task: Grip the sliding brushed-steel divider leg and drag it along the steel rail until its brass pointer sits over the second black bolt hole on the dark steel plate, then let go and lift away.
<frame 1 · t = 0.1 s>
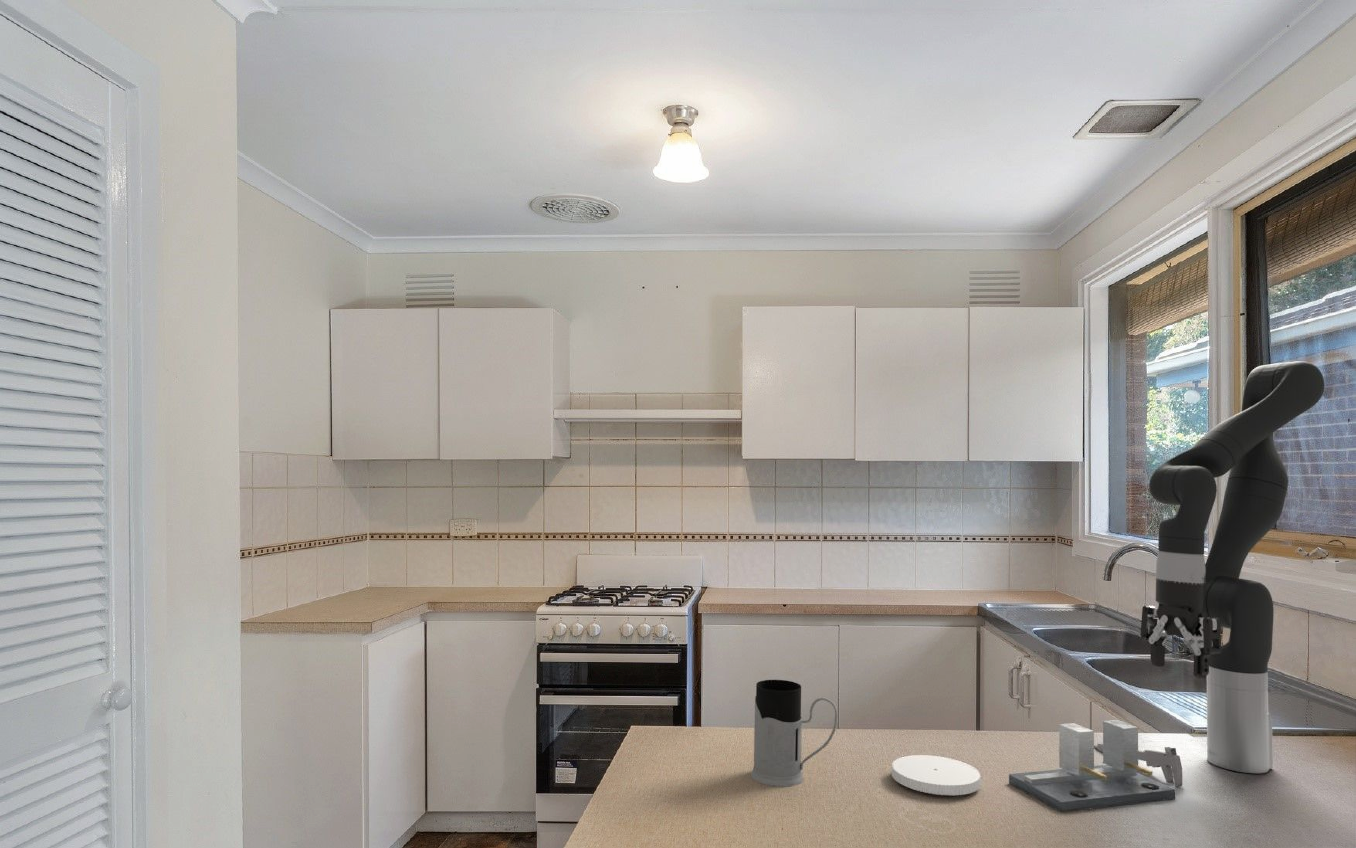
hand: (1178, 671, 148), 17 cm above the countertop, tool pointing down, fingers open, 8 cm apart
glass holder: (793, 780, 139), on the countertop
plastic lid: (935, 786, 139), on the countertop
fixed leg: (1120, 766, 141), resting on hole plate
caliper: (1134, 768, 149), on the countertop
divider leg: (1085, 753, 137), point 6 cm above the countertop, slide at -5.0 cm
hole plate: (1090, 791, 137), on the countertop
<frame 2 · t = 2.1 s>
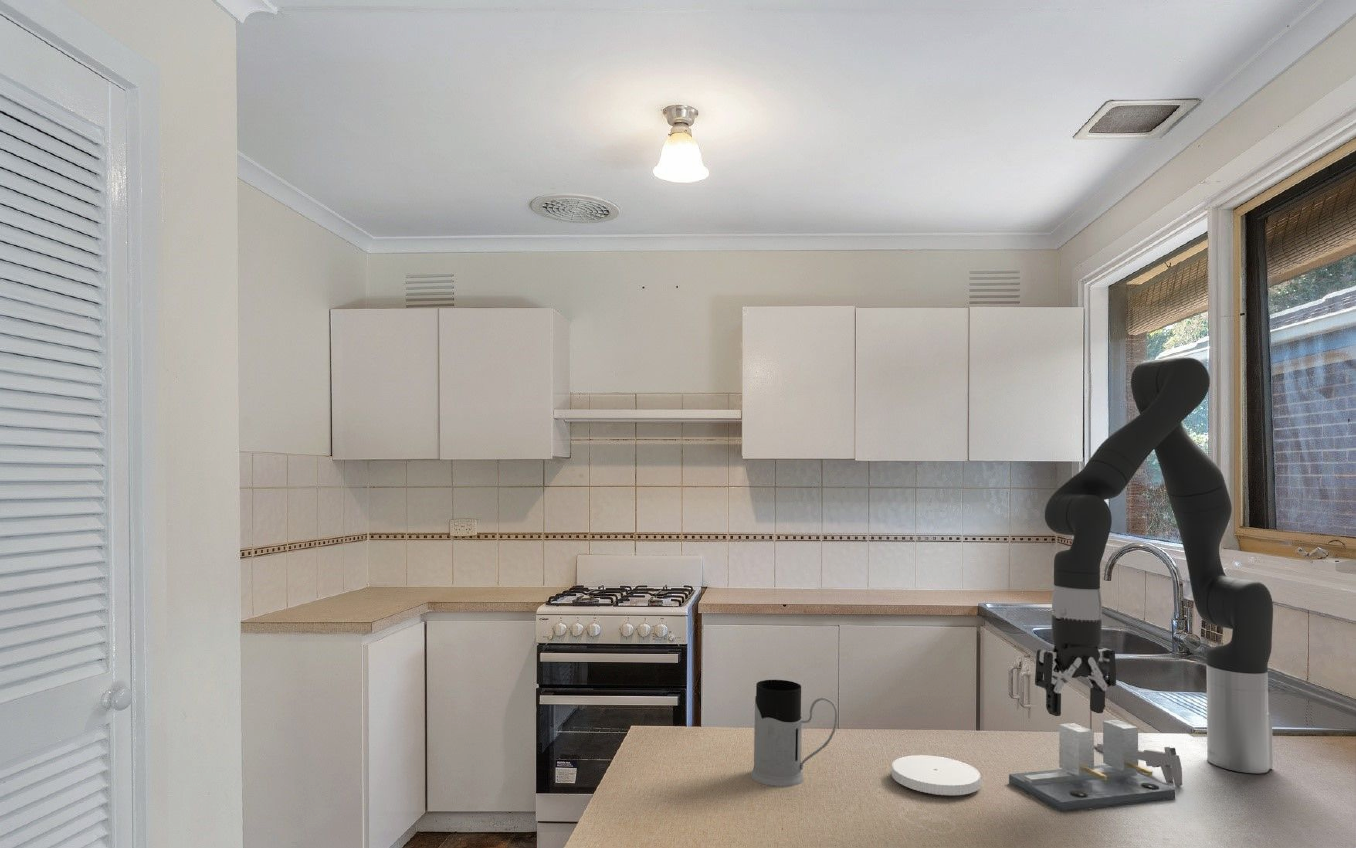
hand: (1075, 713, 139), 12 cm above the countertop, tool pointing down, fingers open, 8 cm apart
nothing on the countertop moved.
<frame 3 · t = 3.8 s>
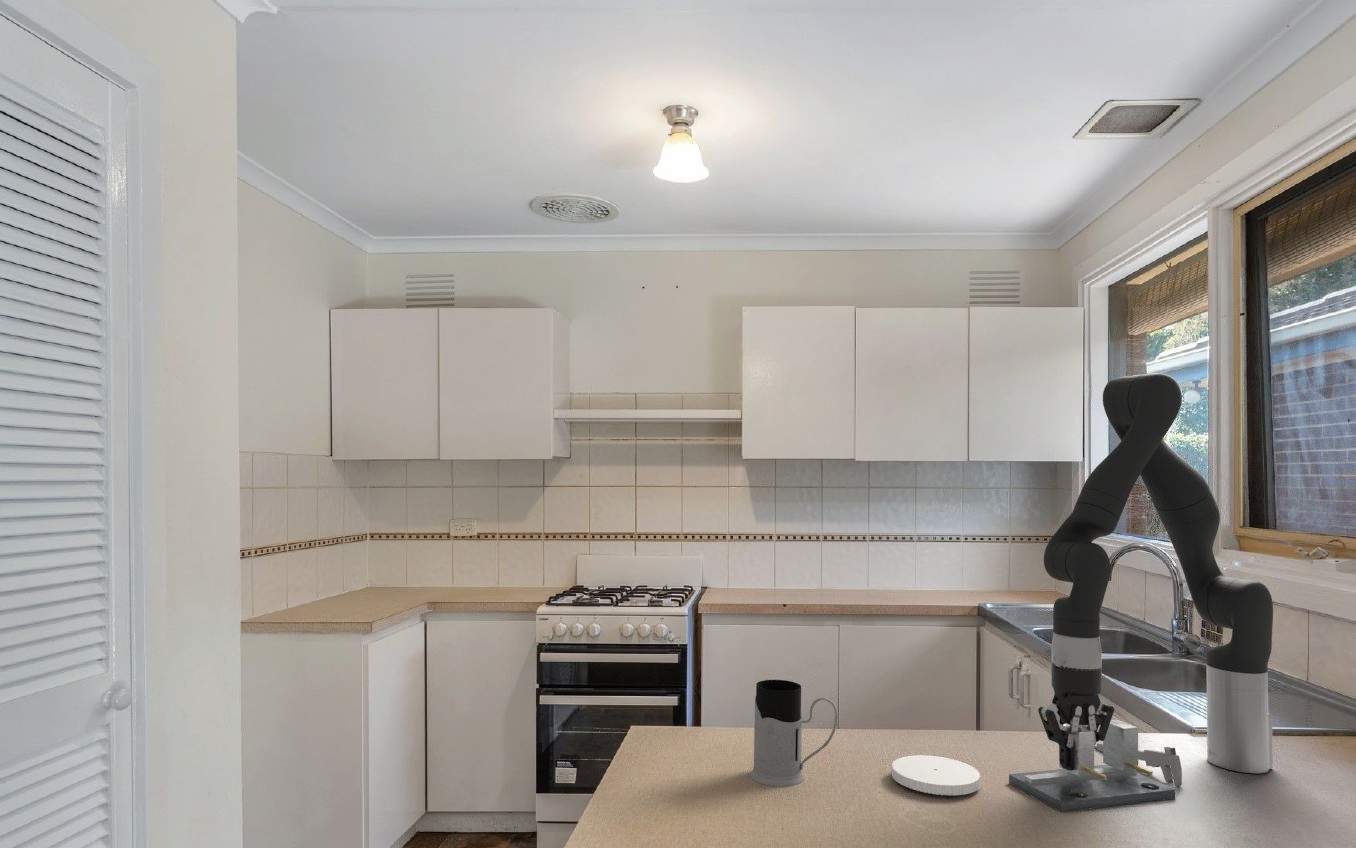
hand: (1076, 767, 139), 3 cm above the countertop, tool pointing down, fingers closed on divider leg, 3 cm apart
divider leg: (1085, 753, 137), point 6 cm above the countertop, slide at -5.0 cm, touching gripper
everything else where it was.
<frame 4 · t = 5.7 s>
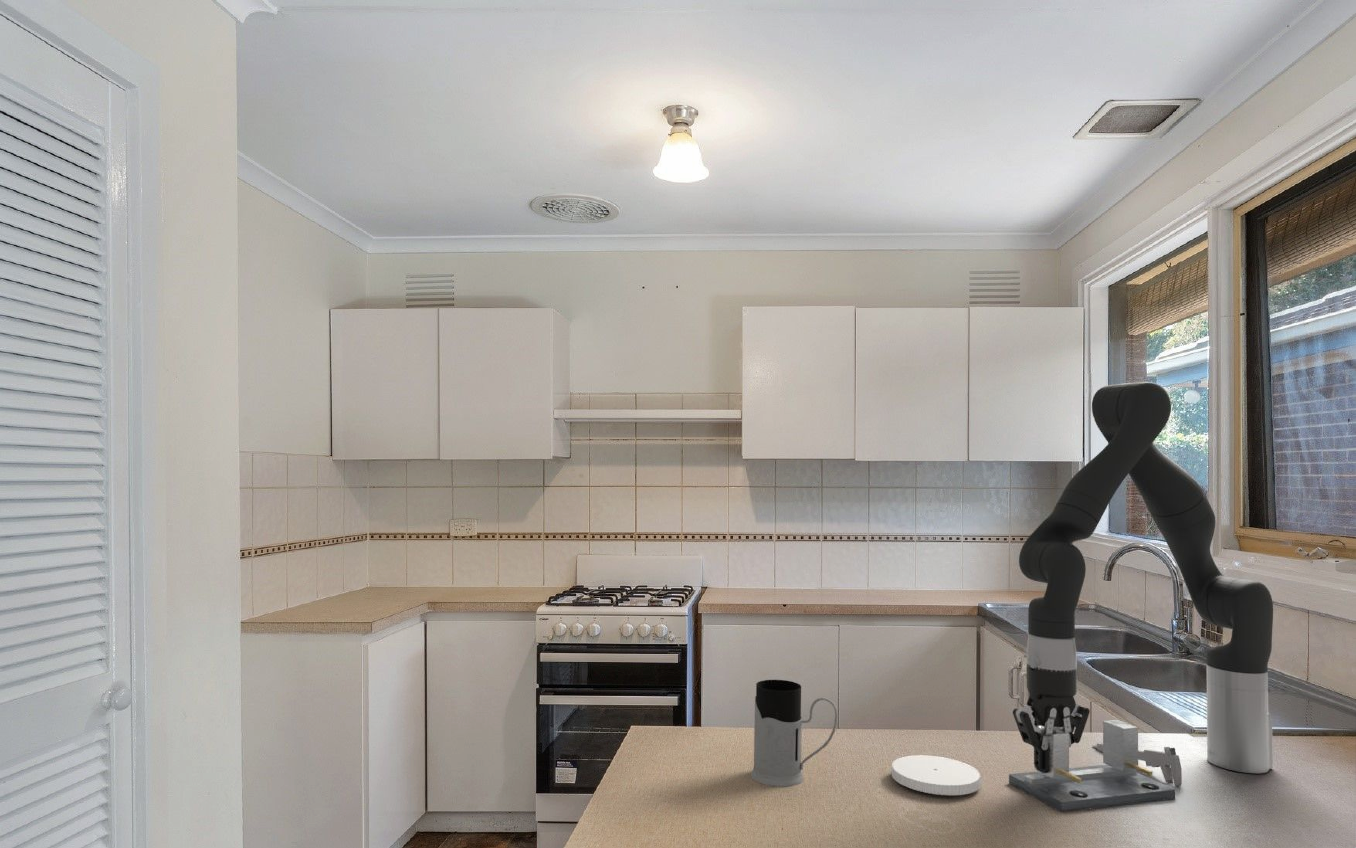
hand: (1051, 770, 137), 3 cm above the countertop, tool pointing down, fingers closed on divider leg, 3 cm apart
divider leg: (1060, 755, 136), point 6 cm above the countertop, slide at -0.1 cm, touching gripper
everything else where it was.
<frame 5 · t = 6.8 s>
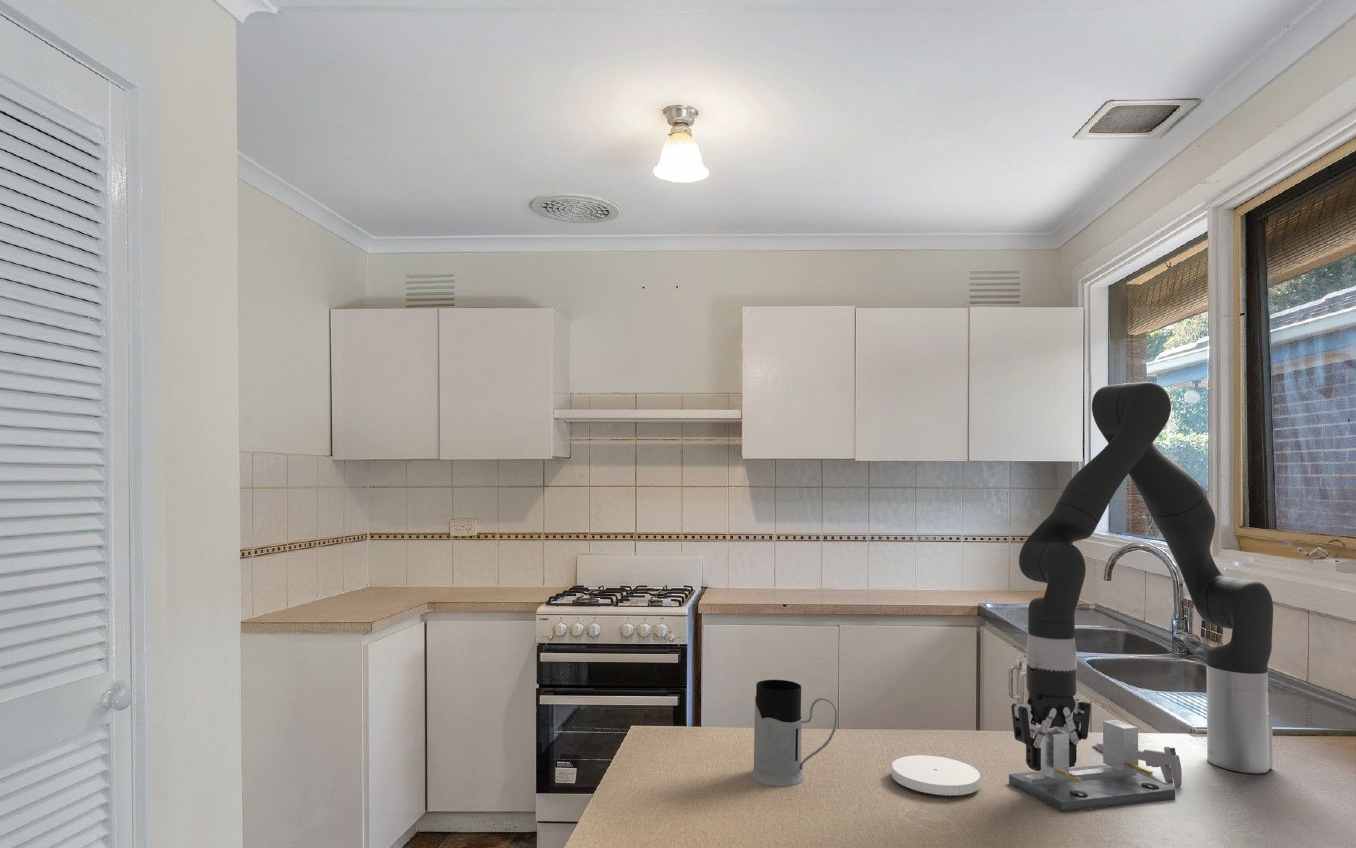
hand: (1051, 767, 137), 4 cm above the countertop, tool pointing down, fingers open, 6 cm apart
divider leg: (1060, 755, 136), point 6 cm above the countertop, slide at -0.1 cm
everything else where it was.
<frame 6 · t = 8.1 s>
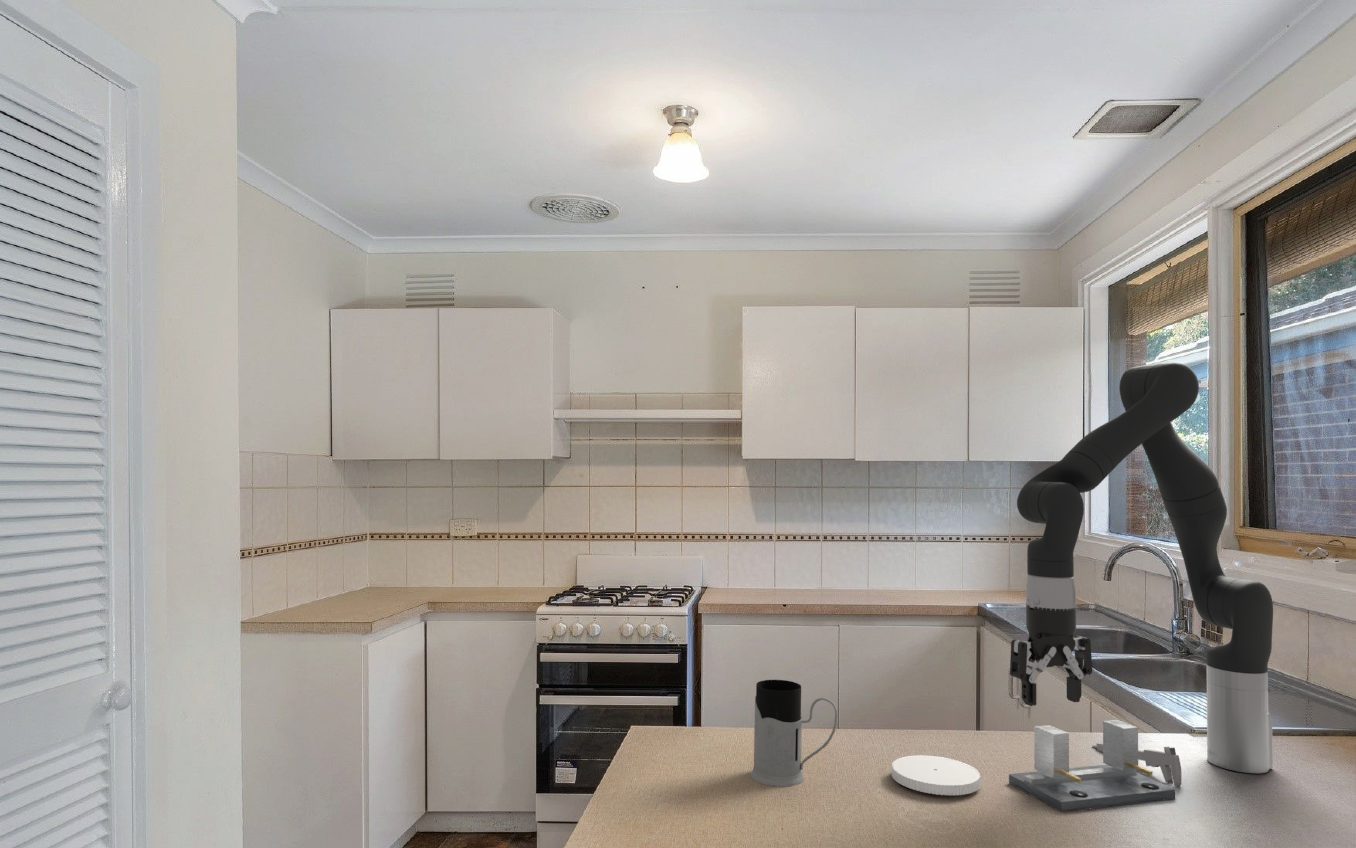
hand: (1051, 703, 138), 14 cm above the countertop, tool pointing down, fingers open, 8 cm apart
nothing on the countertop moved.
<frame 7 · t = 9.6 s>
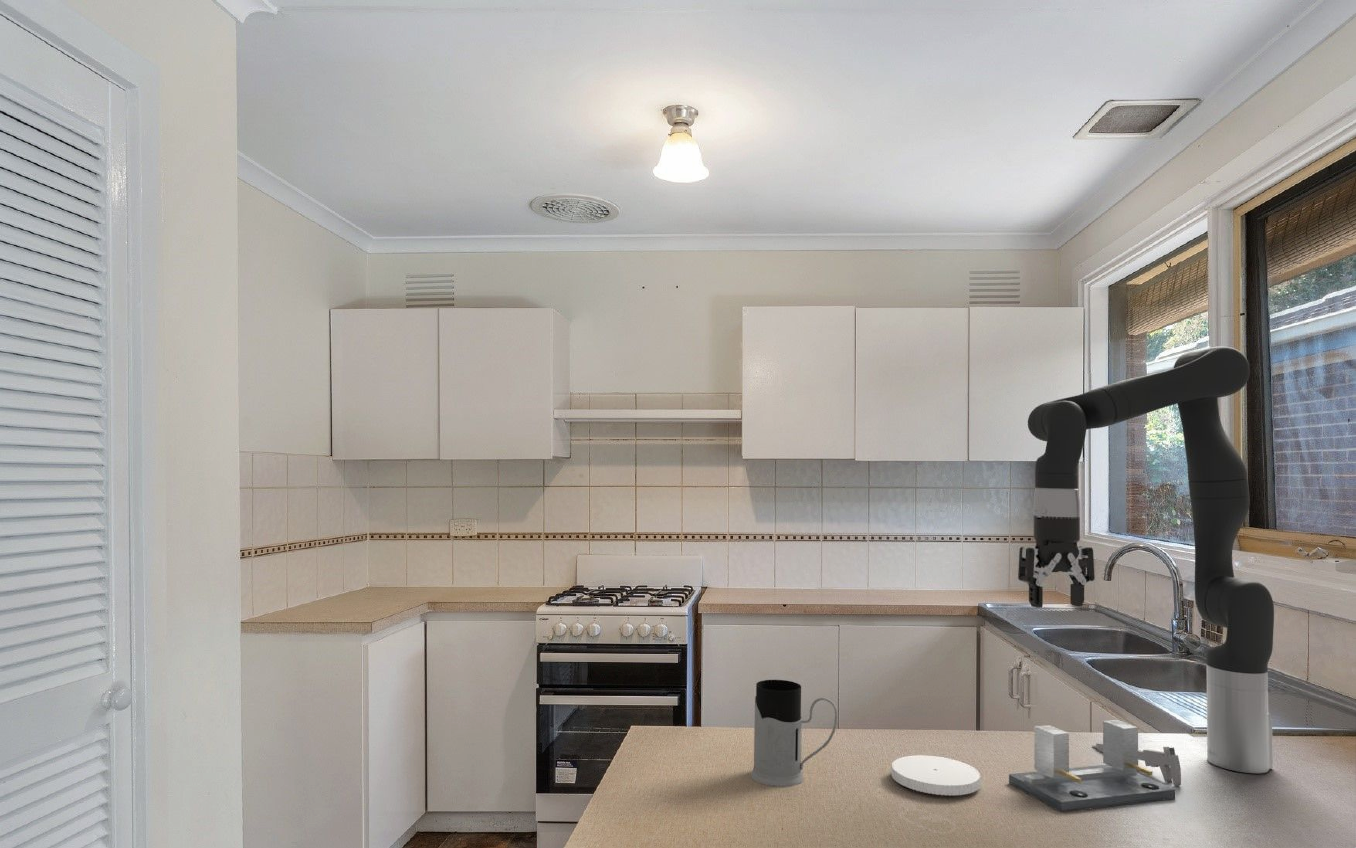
hand: (1056, 606, 149), 28 cm above the countertop, tool pointing down, fingers open, 8 cm apart
nothing on the countertop moved.
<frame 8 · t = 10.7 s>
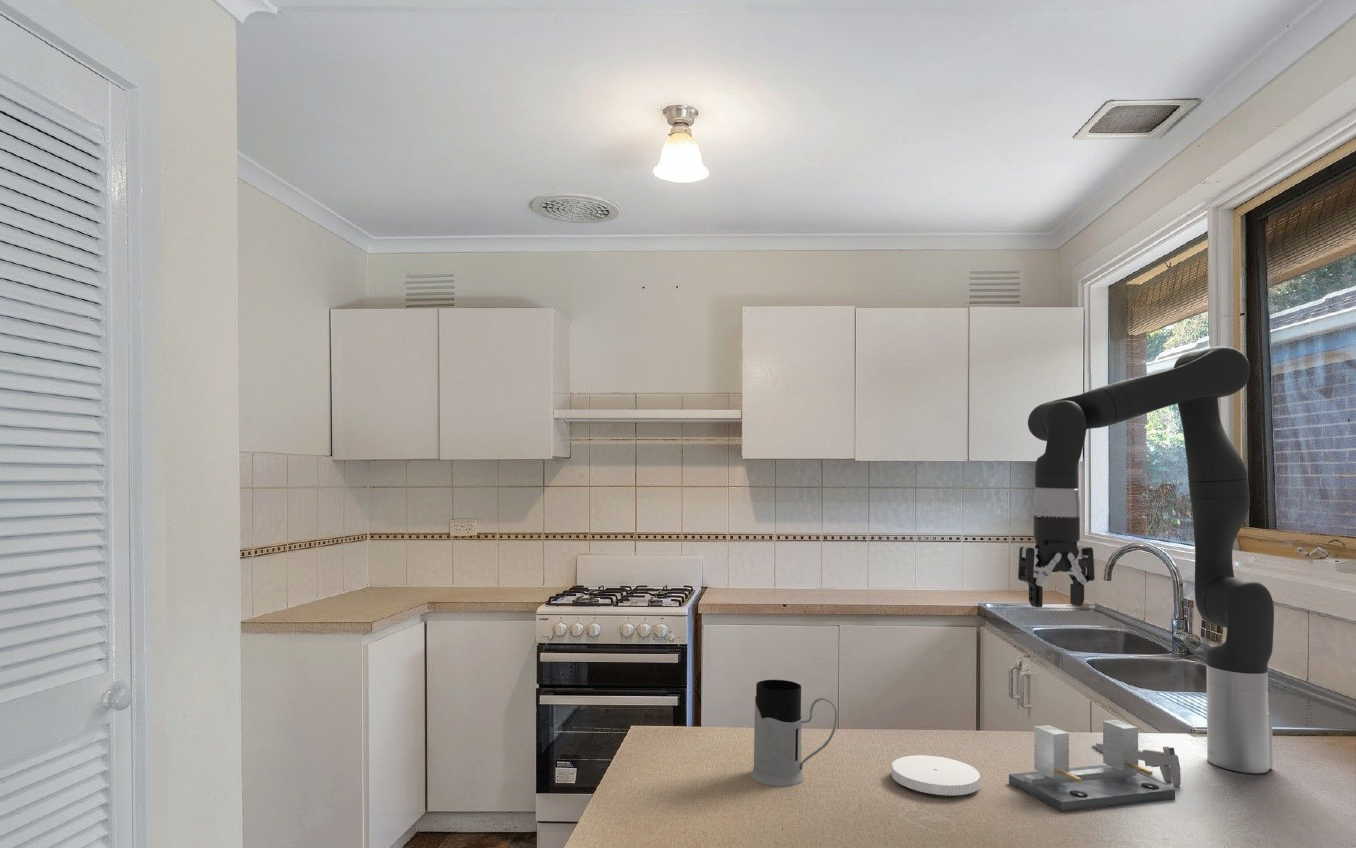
hand: (1056, 606, 149), 28 cm above the countertop, tool pointing down, fingers open, 8 cm apart
nothing on the countertop moved.
at the end: divider leg slide at -0.1 cm; the gripper is holding nothing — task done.
